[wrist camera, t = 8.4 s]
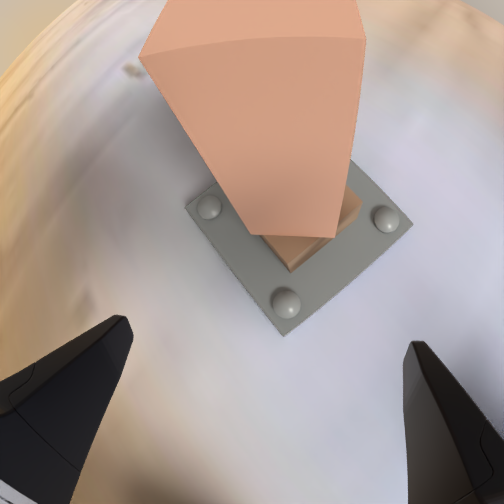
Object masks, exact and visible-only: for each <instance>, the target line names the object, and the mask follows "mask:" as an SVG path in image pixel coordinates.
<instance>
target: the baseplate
mask: <svg viewBox="0 0 504 504" xmlns="http://www.w3.org/2000/svg"><path fill="white" fill-rule="evenodd" d="M346 185H347V186H348V187H349V188H350V189H351V190H352V191H353V192H354V193H355V194H356V195H357V196H358V197H359V198H360V199H361V200H362V201H363V203H362V205H361V208H360V211H359V214H358V217H357V219H356V220H355V221H353V222H352V223H351V224H350V225H349V226H347V227H346V228H345V229H344V230H343V231H342V232H340V233H339V234H338V235H337V236H336V237H335V238H333V239H332V240H331V241H330V242H328V243H327V244H326V245H325V246H324V247H322V248H321V249H320V250H319V251H318V252H316V253H315V254H314V255H313V256H312V257H310V258H309V259H308V260H307V261H305V262H304V263H303V264H302V265H301V266H299V267H298V268H297V269H296V270H294V271H293V272H292V273H290V272H289V271H288V269H287V268H286V267H285V266H284V265H283V263H282V262H281V261H280V260H279V259H278V257H277V256H276V255H275V254H274V253H273V251H272V250H271V249H270V248H269V246H268V245H267V244H266V243H265V242H264V240H263V239H262V238H261V237H260V236H259V235H252V234H250V232H249V231H248V229H247V228H246V226H245V224H244V223H243V221H242V220H241V218H240V217H239V215H238V213H237V212H236V210H235V209H234V207H233V205H232V204H231V202H230V201H229V199H228V197H227V196H226V194H225V193H224V191H223V190H222V188H221V186H220V185H219V183H218V182H216V183H215V184H213V185H212V186H211V187H210V188H208V189H207V190H206V191H205V192H203V193H202V194H201V195H200V196H198V197H197V198H196V199H195V200H193V201H192V202H191V203H190V204H188V205H187V206H186V207H185V209H186V210H187V212H188V213H189V214H190V216H191V217H192V218H193V220H194V221H195V222H196V224H197V225H198V226H199V228H200V229H201V230H202V232H203V233H204V234H205V236H206V237H207V238H208V240H209V241H210V242H211V244H212V245H213V246H214V248H215V249H216V250H217V252H218V253H219V254H220V256H221V257H222V258H223V260H224V261H225V262H226V264H227V265H228V266H229V268H230V269H231V270H232V272H233V273H234V274H235V275H236V277H237V278H238V279H239V281H240V282H241V283H242V285H243V286H244V287H245V289H246V290H247V291H248V292H249V294H250V295H251V296H252V298H253V299H254V300H255V302H256V303H257V304H258V305H259V307H260V308H261V309H262V311H263V312H264V313H265V314H266V316H267V317H268V318H269V320H270V321H271V322H272V323H273V325H274V326H275V327H276V328H277V330H278V331H279V332H280V334H281V335H282V336H283V337H285V336H286V335H287V334H289V333H290V332H291V331H293V330H294V329H295V328H296V327H298V326H299V325H300V324H301V323H303V322H304V321H305V320H306V319H308V318H309V317H310V316H311V315H313V314H314V313H315V312H316V311H318V310H319V309H320V308H321V307H322V306H324V305H325V304H326V303H327V302H328V301H330V300H331V299H332V298H333V297H334V296H336V295H337V294H338V293H339V292H340V291H341V290H343V289H344V288H345V287H346V286H347V285H348V284H350V283H351V282H352V281H353V280H354V279H355V278H357V277H358V276H359V275H360V274H361V273H362V272H363V271H365V270H366V269H367V268H368V267H369V266H370V265H371V264H372V263H374V262H375V261H376V260H377V259H378V258H379V257H380V256H381V255H382V254H383V253H385V252H386V251H387V250H388V249H389V248H390V247H391V246H392V245H393V244H394V243H395V242H396V241H397V240H399V239H400V238H401V237H402V236H403V235H404V234H405V233H406V232H407V231H408V230H409V229H410V228H411V227H412V226H413V223H412V222H411V221H410V219H409V218H408V217H407V216H406V215H405V214H404V213H403V212H402V211H401V210H400V208H399V207H398V206H397V205H396V204H395V203H394V202H393V201H392V200H391V199H390V198H389V197H388V196H387V195H386V194H385V193H384V192H383V191H382V190H381V188H380V187H379V186H378V185H377V184H376V183H375V182H374V181H373V180H372V179H371V178H370V177H369V176H368V175H367V174H366V173H365V172H364V171H363V170H361V169H360V168H359V167H358V166H357V165H356V164H355V163H354V162H353V161H352V160H351V159H350V164H349V169H348V175H347V180H346Z"/></svg>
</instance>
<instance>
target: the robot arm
mask: <svg viewBox="0 0 504 504" xmlns="http://www.w3.org/2000/svg"><path fill="white" fill-rule="evenodd" d="M132 342H133V332H132V329H131V327H130V324H129V321H128V319H127V318H126V316H122V315H113V316H112V317H110V318H108V319H107V320H105V321H103V322H101V323H100V324H98V325H96V326H95V327H93V328H91V329H90V330H88V331H86V332H85V333H83V334H81V335H80V336H78V337H76V338H74V339H73V340H71V341H69V342H68V343H66V344H64V345H63V346H61V347H59V348H58V349H56V350H54V351H53V352H51V353H49V354H48V355H46V356H44V357H43V358H41V359H39V360H38V361H36V362H34V363H33V364H31V365H30V366H28V367H26V368H24V369H23V370H21V371H19V372H18V373H16V374H14V375H12V376H10V377H8V378H6V379H4V380H2V381H0V504H69V503H70V501H71V498H72V495H73V492H74V490H75V487H76V484H77V481H78V479H79V476H80V473H81V470H82V468H83V465H84V463H85V460H86V458H87V455H88V452H89V450H90V447H91V445H92V443H93V440H94V438H95V435H96V433H97V430H98V428H99V425H100V423H101V421H102V418H103V416H104V414H105V411H106V409H107V407H108V404H109V402H110V400H111V397H112V395H113V393H114V391H115V388H116V386H117V384H118V382H119V379H120V377H121V374H122V371H123V369H124V365H125V362H126V359H127V356H128V354H129V351H130V348H131V345H132ZM403 413H404V425H405V437H406V451H407V471H408V504H504V440H503V439H502V437H501V436H500V435H499V433H498V432H497V431H496V430H495V428H494V427H493V426H492V424H491V423H490V422H489V420H488V419H487V420H486V417H485V415H484V414H483V413H482V411H481V410H480V409H479V407H478V406H477V405H476V404H475V402H474V401H473V400H472V398H471V397H470V396H469V395H468V393H467V392H466V391H465V390H464V388H463V387H462V386H461V385H460V383H459V382H458V381H457V380H456V378H455V377H454V376H453V375H452V373H451V372H450V371H449V370H448V369H447V367H446V366H445V365H444V364H443V363H442V361H441V360H440V359H439V358H438V357H437V355H436V354H435V353H434V352H433V351H432V349H431V348H430V347H429V346H428V345H427V344H426V343H425V342H424V341H412V342H411V343H410V344H409V347H408V350H407V352H406V355H405V358H404V361H403Z"/></svg>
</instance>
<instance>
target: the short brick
mask: <svg viewBox="0 0 504 504" xmlns="http://www.w3.org/2000/svg"><path fill="white" fill-rule="evenodd" d="M362 203H363V201H362V200H361V199H360V198H359V197H358V196H357V195H356V194H355V193H354V192H353V191H352V190H351V189H350V188H349V187H348V186H347V185H346V186H345V191H344V196H343V201H342V206H341V211H340V216H339V221H338V226H337V230H336V235H335V237H336V236H337V235H338V234H339V233H340V232H342V231H343V230H344V229H345V228H346V227H347V226H349V225H350V224H351V223H352V222H353V221H355V220H356V219H357V217H358V214H359V211H360V208H361V205H362ZM259 236H260V237H261V238H262V239H263V240H264V242H265V243H266V244H267V245H268V246H269V248H270V249H271V250H272V251H273V253H274V254H275V255H276V256H277V257H278V259H279V260H280V261H281V262H282V263H283V265H284V266H285V267H286V268H287V269H288V271H289V272H290V273H292V272H293V271H294V270H296V269H297V268H298V267H299V266H301V265H302V264H303V263H304V262H305V261H307V260H308V259H309V258H310V257H312V256H313V255H314V254H315V253H316V252H318V251H319V250H320V249H321V248H322V247H324V246H325V245H326V244H327V243H328V242H330V241H331V240H332V239H333V238H325V237H303V236H278V235H259Z"/></svg>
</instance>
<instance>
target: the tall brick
mask: <svg viewBox="0 0 504 504" xmlns="http://www.w3.org/2000/svg"><path fill="white" fill-rule="evenodd" d="M365 47H366V36H365V32H364V28H363V25H362V21H361V17H360V14H359V10H358V7H357V3H356V0H168V1H167V3H166V5H165V6H164V8H163V10H162V12H161V13H160V15H159V17H158V19H157V21H156V23H155V24H154V26H153V28H152V30H151V32H150V34H149V36H148V38H147V40H146V42H145V44H144V46H143V48H142V50H141V52H140V54H139V56H138V58H139V60H140V61H141V63H142V64H143V66H144V67H145V69H146V70H147V72H148V74H149V75H150V77H151V78H152V80H153V81H154V83H155V84H156V86H157V88H158V89H159V91H160V92H161V94H162V95H163V97H164V98H165V100H166V102H167V103H168V105H169V106H170V108H171V109H172V111H173V112H174V114H175V116H176V117H177V119H178V120H179V122H180V123H181V125H182V127H183V128H184V130H185V131H186V133H187V134H188V136H189V138H190V139H191V141H192V142H193V144H194V145H195V147H196V149H197V150H198V152H199V153H200V155H201V156H202V158H203V160H204V161H205V163H206V164H207V166H208V167H209V169H210V171H211V172H212V174H213V175H214V177H215V178H216V180H217V182H218V183H219V185H220V186H221V188H222V190H223V191H224V193H225V194H226V196H227V197H228V199H229V201H230V202H231V204H232V205H233V207H234V209H235V210H236V212H237V213H238V215H239V217H240V218H241V220H242V221H243V223H244V224H245V226H246V228H247V229H248V231H249V232H250V234H252V235H278V236H303V237H325V238H335V235H336V230H337V226H338V221H339V216H340V211H341V206H342V201H343V196H344V191H345V186H346V180H347V175H348V169H349V164H350V158H351V152H352V146H353V140H354V133H355V127H356V120H357V113H358V106H359V99H360V91H361V83H362V75H363V66H364V57H365Z"/></svg>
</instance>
